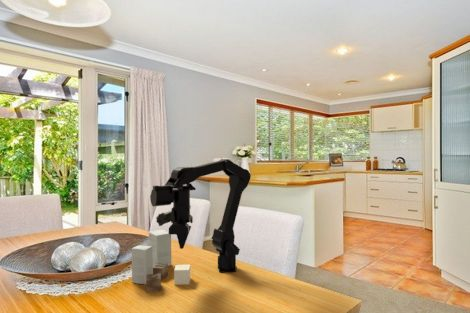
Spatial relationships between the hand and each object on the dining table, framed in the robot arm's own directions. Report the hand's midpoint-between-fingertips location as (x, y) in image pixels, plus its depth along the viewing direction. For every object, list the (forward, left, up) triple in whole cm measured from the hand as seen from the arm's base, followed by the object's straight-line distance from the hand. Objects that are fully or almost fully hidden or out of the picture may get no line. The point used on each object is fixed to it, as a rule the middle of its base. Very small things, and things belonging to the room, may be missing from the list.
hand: (181, 248), depth 105 cm
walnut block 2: (+9, +5, -12) cm, 15 cm away
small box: (+11, -17, -12) cm, 23 cm away
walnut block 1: (+9, -5, -12) cm, 16 cm away
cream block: (0, 0, -12) cm, 12 cm away
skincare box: (+14, -1, -12) cm, 18 cm away
